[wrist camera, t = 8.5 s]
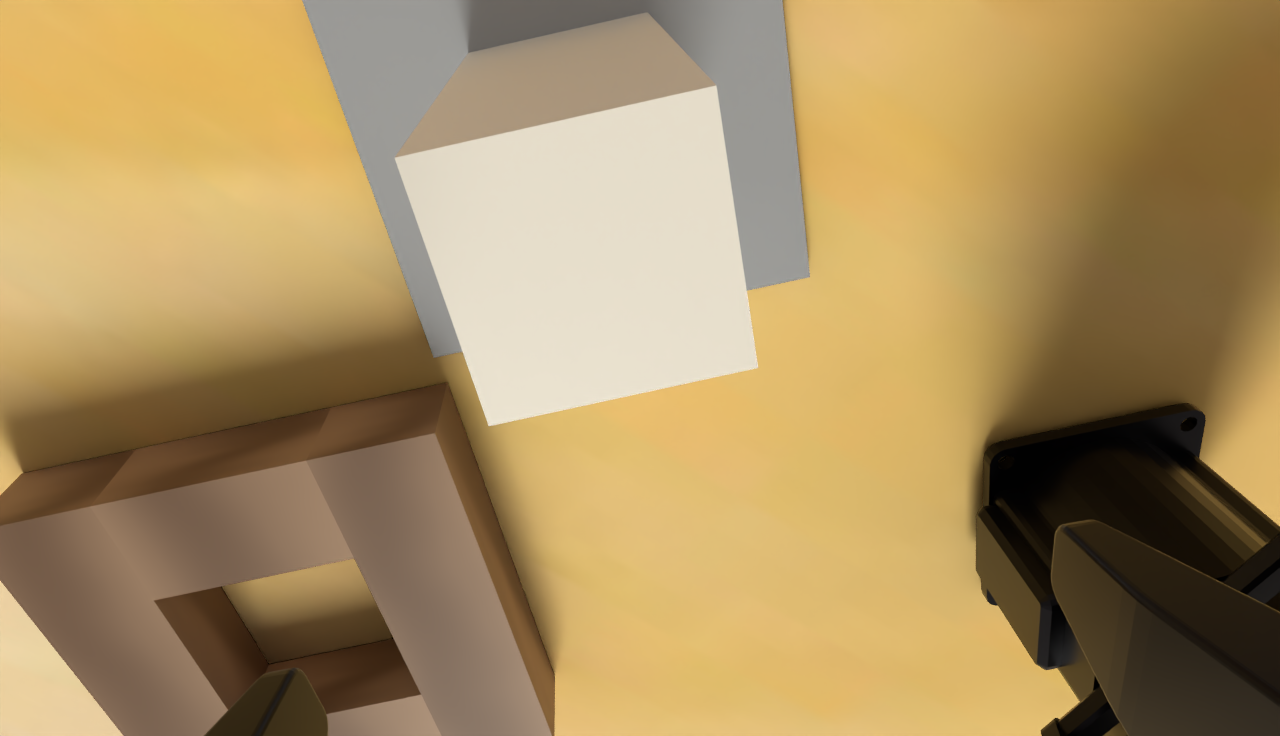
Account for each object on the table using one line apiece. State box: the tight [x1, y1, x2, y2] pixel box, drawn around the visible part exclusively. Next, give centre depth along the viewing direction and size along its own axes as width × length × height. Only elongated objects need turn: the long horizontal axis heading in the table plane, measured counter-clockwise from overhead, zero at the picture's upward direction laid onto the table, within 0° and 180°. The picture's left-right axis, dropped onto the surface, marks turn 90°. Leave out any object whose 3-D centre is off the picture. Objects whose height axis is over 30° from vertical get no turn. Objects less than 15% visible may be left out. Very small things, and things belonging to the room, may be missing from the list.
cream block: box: [395, 12, 758, 426], centre depth 15 cm, size 4×4×9 cm
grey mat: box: [302, 0, 810, 358], centre depth 19 cm, size 10×10×1 cm
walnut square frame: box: [0, 383, 555, 736], centre depth 24 cm, size 12×12×2 cm
